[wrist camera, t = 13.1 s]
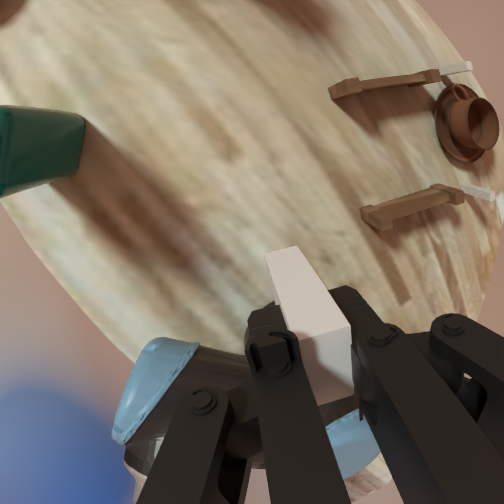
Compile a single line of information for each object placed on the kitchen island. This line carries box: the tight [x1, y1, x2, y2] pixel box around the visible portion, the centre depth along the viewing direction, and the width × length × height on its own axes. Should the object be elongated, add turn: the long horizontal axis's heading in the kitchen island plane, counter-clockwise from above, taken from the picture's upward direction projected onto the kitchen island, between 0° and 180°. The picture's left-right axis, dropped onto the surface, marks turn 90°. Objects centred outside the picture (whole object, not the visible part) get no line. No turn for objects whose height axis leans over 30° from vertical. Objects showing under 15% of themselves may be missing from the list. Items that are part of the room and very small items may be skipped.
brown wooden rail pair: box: [328, 69, 464, 232], centre depth 33 cm, size 18×14×6 cm
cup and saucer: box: [435, 84, 499, 163], centre depth 33 cm, size 12×12×6 cm
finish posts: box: [435, 62, 495, 202], centre depth 33 cm, size 19×1×7 cm, turn 18°
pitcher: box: [0, 105, 85, 199], centre depth 22 cm, size 10×8×22 cm
